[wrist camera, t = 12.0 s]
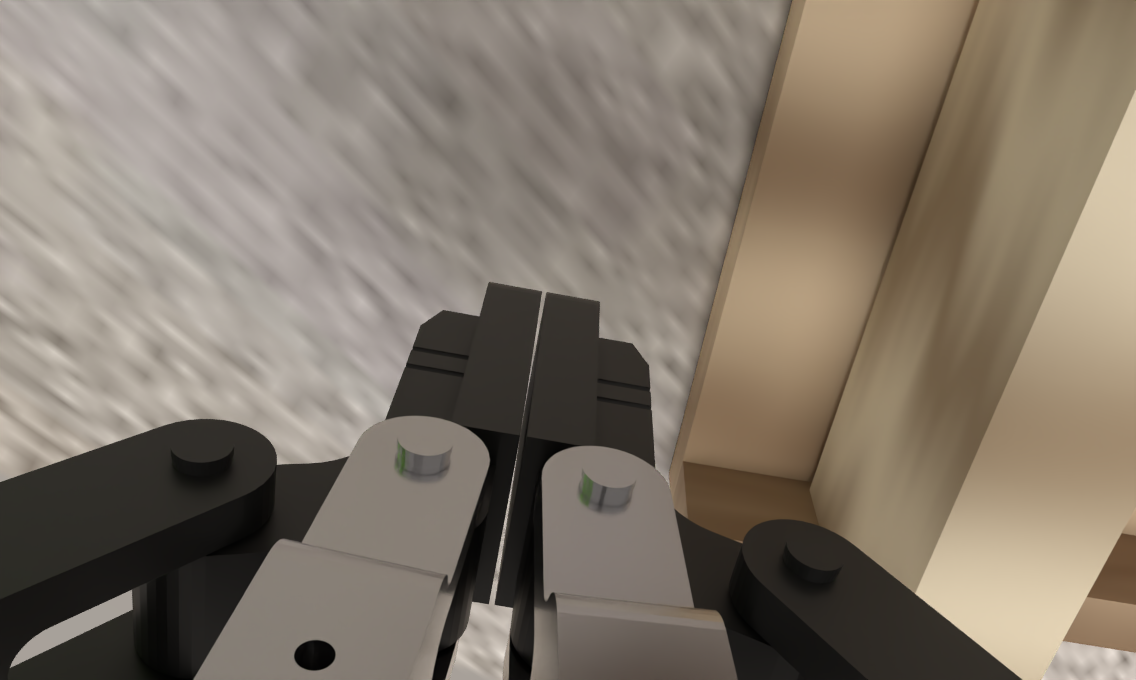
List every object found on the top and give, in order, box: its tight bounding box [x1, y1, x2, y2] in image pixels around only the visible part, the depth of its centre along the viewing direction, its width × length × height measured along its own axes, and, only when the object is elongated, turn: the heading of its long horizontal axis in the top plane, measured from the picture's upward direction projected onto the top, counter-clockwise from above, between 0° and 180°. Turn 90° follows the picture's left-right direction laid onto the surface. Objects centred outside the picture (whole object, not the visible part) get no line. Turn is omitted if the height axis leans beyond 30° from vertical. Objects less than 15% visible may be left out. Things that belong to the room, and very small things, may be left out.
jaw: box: [810, 0, 1136, 680], centre depth 16 cm, size 12×2×6 cm, turn 171°
